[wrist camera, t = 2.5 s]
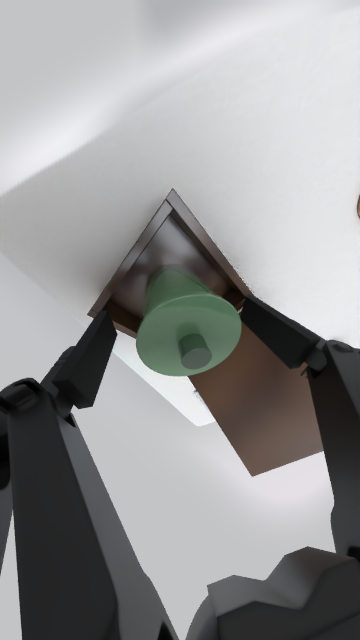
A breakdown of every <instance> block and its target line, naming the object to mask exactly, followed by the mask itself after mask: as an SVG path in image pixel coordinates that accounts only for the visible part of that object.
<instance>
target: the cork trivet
mask: <svg viewBox="0 0 360 640" xmlns="http://www.w3.org/2000/svg"><path fill="white" fill-rule="evenodd" d="M358 215H359V217H360V199H359V203H358Z"/></svg>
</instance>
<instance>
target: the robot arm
mask: <svg viewBox="0 0 360 640" xmlns="http://www.w3.org/2000/svg"><path fill="white" fill-rule="evenodd" d="M240 319H241V321H242V322H243V323H244V324H245V325H246V326H247V327H248V328H249V329H250V330H251V331H252V332H253V333H254V334H255V335H256V336H257V337H258V338H259V339H260V340H261V341H262V342H263V343H264V344H265V345H266V346H267V347H268V348H269V349H270V350H271V351H272V352H273V353H274V354H275V355H276V356H277V357H278V358H279V359H280V360H281V361H282V362H283V363H284V364H285V365H286V366H287V367H288V368H289V369H295V368H300V366H301V365H302V364H303V362H305V363H306V364H307V367H306V368H305V369H304V370H303V372H302V373H301V376H302V377H303V375H304V374H307V376H306V377H305V378H308V382H309V386H310V391H311V395H312V400H313V404H314V409H315V413H316V418H317V422H318V427H319V431H320V436H321V440H322V445H323V450H324V454H325V458H326V463H327V467H328V472H329V476H330V481H331V485H332V490H333V495H334V507H333V510H332V512H331V528H332V534H333V539H334V544H335V550H336V553H332V552H328V551H324V550H320V549H316V548H311V547H308V546H307V547H305V548H302V549H300V550H297V551H295V552H292V553H289V554H287V555H285V556H284V557H283V558H282V560H281V561H280V562H279V564H278V565H277V566H276V568H275V569H274V570H273V572H272V573H271V574H270V576H269V577H268V578H267V579H266V580H264V581H261V580H257V579H251V578H246V577H241V576H236V575H232V576H230V577H227V578H225V579H222V580H220V581H217V582H215V583H212V584H209V585H207V588H208V593H209V595H208V596H207V597H206V599H205V600H204V601H203V602H202V604H201V605H200V607H199V609H198V610H197V612H196V614H195V616H194V618H193V621H192V623H191V625H190V628H189V631H188V634H187V637H186V640H360V349H357V348H353V347H351V346H350V345H348V344H345V343H343V342H340V341H336V340H328V341H326V340H325V339H323V338H321V337H320V336H318V335H317V334H315V333H313V332H312V331H310V330H309V329H306V328H305V327H304V326H302V325H301V324H299V323H297V322H296V321H294V320H292V319H289V318H288V317H286V316H285V315H283V314H281V313H280V312H278V311H277V310H275V309H274V308H272V307H270V306H269V305H267V304H266V303H264V302H262V301H261V300H259V299H258V298H256V297H255V296H253V295H251V296H246V297H245V301H244V304H243V308H242V312H241V316H240ZM116 337H117V332H116V329H115V327H114V324H113V322H112V319H111V316H110V314H109V311H108V310H107V311H99V312H98V314H97V315H96V317H95V318H94V319H93V321H92V322H91V324H90V325H89V327H88V328H87V330H86V331H85V333H84V334H83V336H82V337H81V339H80V340H79V342H78V343H77V345H76V346H71V347H69V348H68V349H67V350H66V351H64V352H63V353H62V355H61V356H60V357H59V359H58V361H57V362H56V363H55V364H54V366H53V367H52V368H51V370H50V371H49V372H48V374H47V375H46V376H45V378H44V379H43V380H42V382H41V383H40V384H39V383H38V382H37V381H36V380H34V379H33V378H25V379H21V380H19V381H16V382H14V383H12V384H11V385H9V386H7V387H6V388H4V389H3V390H2V391H1V392H0V574H1V569H2V564H3V558H4V553H5V548H6V542H7V537H8V532H9V527H10V521H11V516H12V511H13V515H14V529H15V543H16V556H17V557H16V558H17V571H18V586H19V601H20V615H21V628H22V640H179V639H178V636H177V635H176V632H175V630H174V628H173V626H172V624H171V621H170V619H169V617H168V615H167V613H166V610H165V608H164V606H163V604H162V602H161V599H160V597H159V595H158V593H157V591H156V589H155V587H154V586H153V584H152V582H151V580H150V578H149V577H148V576H147V575H146V574H145V573H144V571H143V570H142V568H141V566H140V564H139V562H138V560H137V557H136V555H135V553H134V551H133V548H132V546H131V544H130V541H129V539H128V537H127V535H126V533H125V531H124V528H123V526H122V524H121V521H120V519H119V517H118V515H117V512H116V510H115V508H114V506H113V503H112V501H111V499H110V497H109V494H108V492H107V490H106V488H105V485H104V483H103V481H102V479H101V476H100V474H99V472H98V470H97V467H96V465H95V463H94V461H93V458H92V456H91V454H90V452H89V449H88V447H87V445H86V443H85V441H84V438H83V436H82V434H81V432H80V429H79V427H78V425H77V423H76V420H75V418H74V416H73V414H72V413H71V412H70V411H71V409H72V407H73V405H75V406H76V407H77V408H78V409H82V408H87V407H92V406H93V404H94V401H95V398H96V395H97V392H98V389H99V386H100V383H101V380H102V378H103V375H104V372H105V369H106V366H107V363H108V360H109V357H110V354H111V352H112V349H113V346H114V343H115V340H116Z"/></svg>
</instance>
